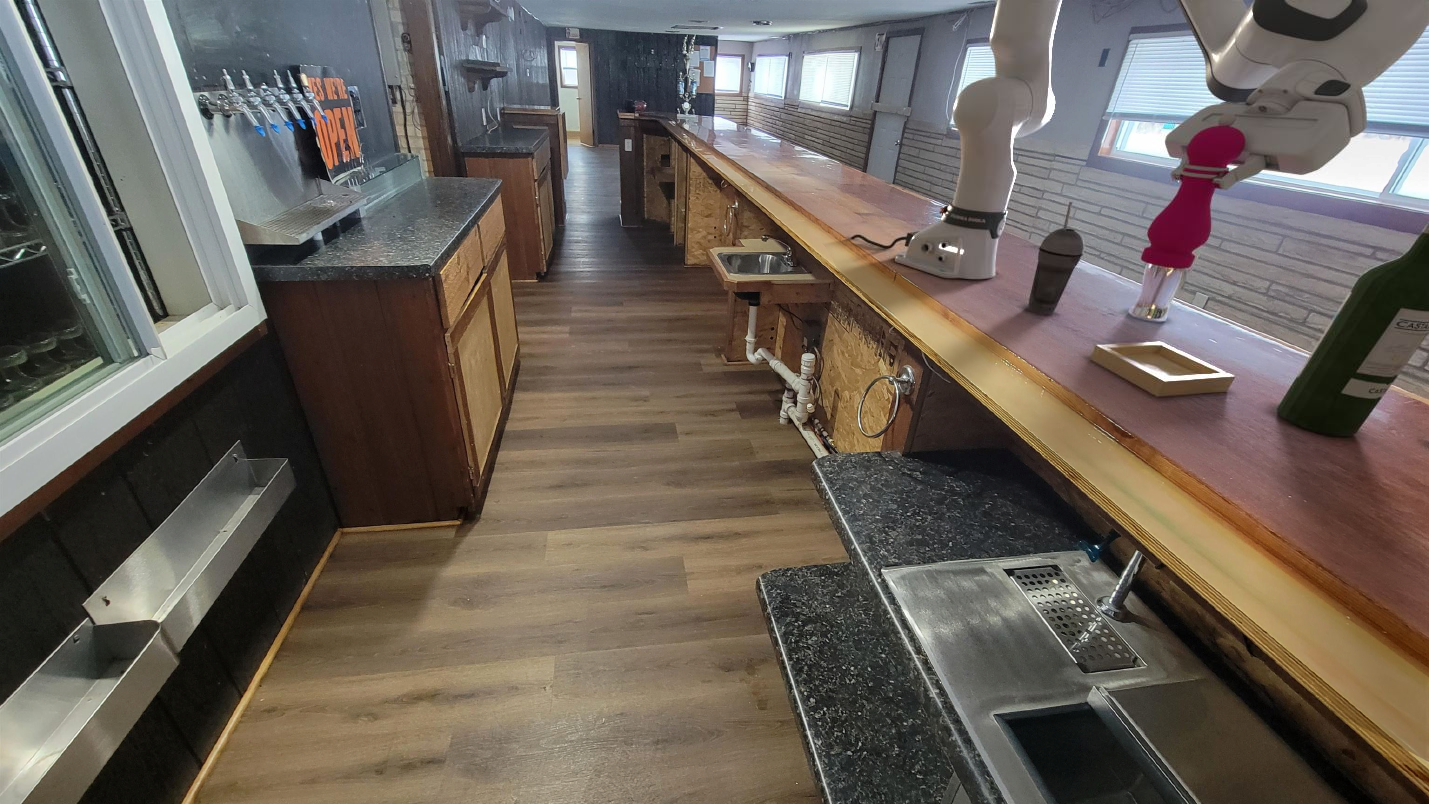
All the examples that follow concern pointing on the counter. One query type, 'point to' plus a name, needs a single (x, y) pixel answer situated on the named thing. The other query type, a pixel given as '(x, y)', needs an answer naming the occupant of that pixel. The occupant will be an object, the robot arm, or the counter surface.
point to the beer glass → (1159, 290)
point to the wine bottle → (1363, 346)
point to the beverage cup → (1055, 267)
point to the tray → (1161, 369)
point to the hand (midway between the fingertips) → (1196, 182)
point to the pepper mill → (1193, 197)
